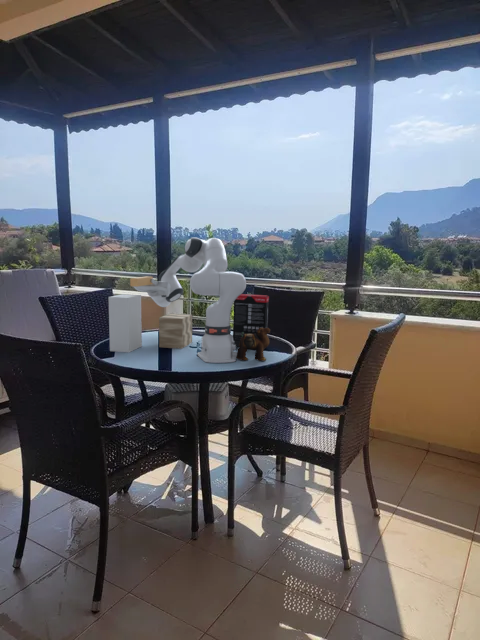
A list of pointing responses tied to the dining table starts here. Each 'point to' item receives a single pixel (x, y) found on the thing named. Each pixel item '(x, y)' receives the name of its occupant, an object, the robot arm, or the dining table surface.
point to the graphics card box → (249, 315)
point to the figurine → (253, 344)
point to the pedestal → (175, 330)
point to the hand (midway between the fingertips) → (146, 279)
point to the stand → (125, 323)
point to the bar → (140, 281)
